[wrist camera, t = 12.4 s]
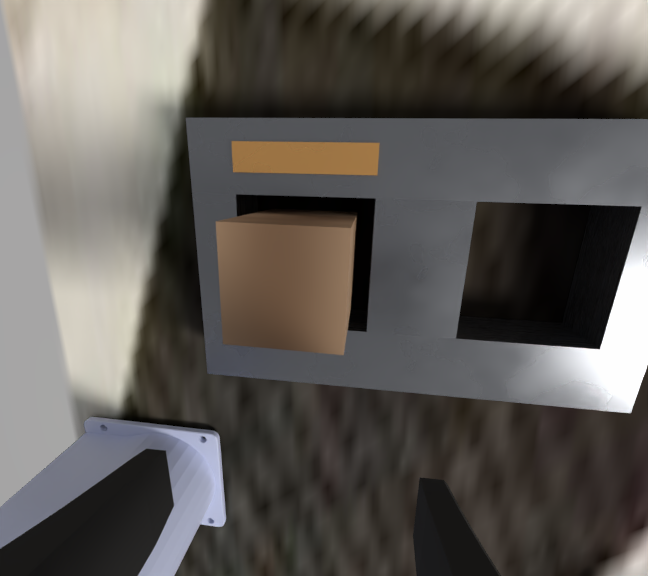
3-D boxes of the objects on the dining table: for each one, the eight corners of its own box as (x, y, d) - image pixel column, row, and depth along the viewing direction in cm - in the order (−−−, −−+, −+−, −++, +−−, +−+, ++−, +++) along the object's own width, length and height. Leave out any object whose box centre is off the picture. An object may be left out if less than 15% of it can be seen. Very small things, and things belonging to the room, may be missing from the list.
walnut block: (274, 288, 19) (223, 344, 12) (273, 208, 18) (215, 221, 11) (352, 294, 18) (343, 355, 12) (357, 212, 17) (351, 228, 10)
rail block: (230, 347, 20) (205, 375, 17) (216, 129, 17) (183, 116, 14) (588, 377, 18) (633, 416, 15) (659, 132, 14) (737, 118, 11)
